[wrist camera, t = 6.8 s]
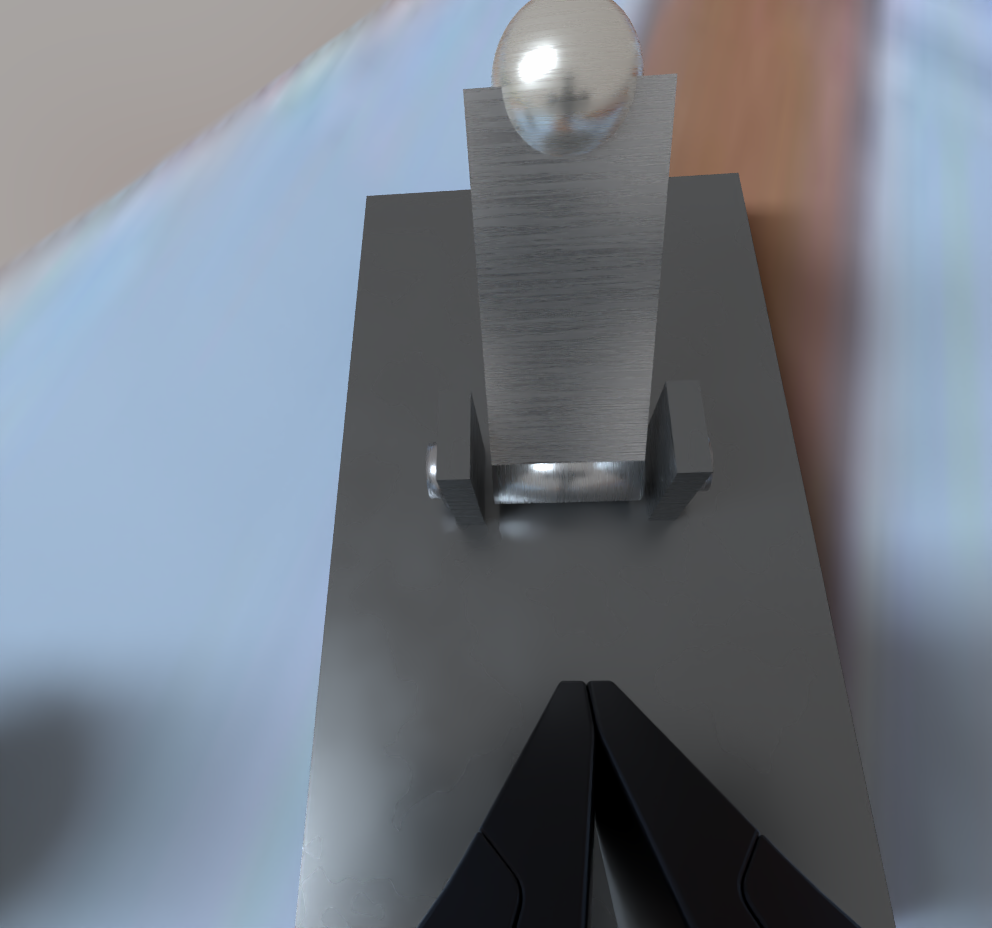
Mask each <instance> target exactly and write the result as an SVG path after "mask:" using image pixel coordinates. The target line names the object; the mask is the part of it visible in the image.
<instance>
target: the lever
mask: <svg viewBox="0 0 992 928" xmlns="http://www.w3.org/2000/svg"><path fill="white" fill-rule="evenodd" d="M676 82H677V74H665V75H652V76H644V65H643V56H642V50H641V46H640V42H639V39H638V36H637V33H636V31H635V29H634V27H633V25H632V23H631V21H630V19H629V18H628V16H627V15H626V14H625V12H624V11H623V10H622V9H621V8H620V7H619V6H618V5H617V4H616V3H615V2H614V1H613V0H531V1H529V2H528V3H527V4H526V5H524V6H523V7H522V8H521V9H520V10H519V11H518V12H517V13H516V15H515V16H514V17H513V18H512V20H511V21H510V23H509V24H508V26H507V27H506V29H505V31H504V33H503V35H502V37H501V39H500V41H499V44H498V47H497V50H496V53H495V57H494V61H493V67H492V76H491V87H489V88H475V89H463V93H464V106H465V120H466V133H467V146H468V159H469V172H470V186H471V199H472V212H473V225H474V238H475V252H476V265H477V278H478V291H479V304H480V318H481V331H482V344H483V357H484V370H485V384H486V397H487V410H488V423H489V436H490V450H491V463H492V484H493V496H494V502H495V504H522V503H559V502H597V501H634V500H641V499H642V496H643V492H644V485H645V453H646V441H647V429H648V417H649V405H650V393H651V381H652V369H653V357H654V346H655V334H656V322H657V310H658V298H659V286H660V274H661V262H662V250H663V238H664V226H665V214H666V202H667V190H668V178H669V166H670V154H671V142H672V130H673V118H674V106H675V94H676Z"/></svg>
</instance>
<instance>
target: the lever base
mask: <svg viewBox="0 0 992 928" xmlns="http://www.w3.org/2000/svg"><path fill="white" fill-rule="evenodd" d="M605 680H609V681H612V682H614V683H615V684H616V685H617V686H618V687H619V688H620V689H621V690H622V691H623V692H624V693H625V694H626V695H627V696H628V697H629V698H630V699H631V700H632V701H633V702H634V703H635V704H636V706H637V707H638V708H639V709H640V710H641V711H642V712H643V713H644V714H645V715H646V716H647V717H648V718H649V719H650V720H651V721H652V722H653V723H654V724H655V725H656V726H657V727H658V728H659V729H660V730H661V731H662V732H663V733H664V734H665V735H666V736H667V737H668V738H669V739H670V740H671V741H672V742H673V743H674V744H675V745H676V746H677V747H678V748H679V749H680V750H681V751H682V752H683V753H684V755H685V756H686V757H687V758H688V759H689V760H690V761H691V762H692V763H693V764H694V765H695V766H696V767H697V768H698V769H699V770H700V771H701V772H702V773H703V774H704V775H705V776H706V777H707V778H708V779H709V780H710V781H711V782H712V783H713V784H714V785H715V786H716V787H717V788H718V789H719V790H720V791H721V792H722V793H723V794H724V795H725V796H726V797H727V798H728V799H729V800H730V801H731V802H732V804H733V805H734V806H735V807H736V808H737V809H738V810H739V811H740V812H741V813H742V814H743V815H744V816H745V817H746V818H747V819H748V820H749V821H750V822H751V823H752V824H753V825H754V826H755V827H756V828H757V829H758V830H759V832H760V835H765V836H766V837H767V838H768V839H769V840H770V841H771V842H772V843H773V844H774V845H775V846H776V847H777V848H778V849H779V850H780V851H781V852H782V853H783V854H784V855H785V856H786V857H787V858H788V859H789V860H790V861H791V862H792V863H793V864H794V865H795V866H796V867H797V868H798V869H799V870H800V871H801V872H802V873H803V874H804V875H805V876H806V877H807V878H808V879H809V880H810V881H811V882H812V883H813V884H814V885H816V886H817V887H818V888H819V889H820V890H821V891H822V892H823V893H824V894H825V895H826V896H827V897H828V898H829V899H831V900H832V901H833V902H834V903H835V904H836V905H837V906H838V907H839V908H841V909H842V910H843V911H844V912H845V913H846V914H847V915H848V916H850V917H851V918H852V919H853V920H854V921H855V922H856V923H857V924H858V925H860V926H861V927H862V928H896V927H895V922H894V917H893V912H892V908H891V903H890V898H889V893H888V888H887V884H886V879H885V874H884V869H883V864H882V860H881V855H880V850H879V845H878V840H877V836H876V831H875V826H874V821H873V816H872V812H871V807H870V802H869V797H868V793H867V788H866V783H865V778H864V773H863V769H862V764H861V759H860V754H859V749H858V745H857V740H856V735H855V730H854V725H853V721H852V716H851V711H850V706H849V701H848V697H847V692H846V687H845V682H844V677H843V673H842V668H841V663H840V658H839V653H838V649H837V644H836V639H835V634H834V629H833V625H832V620H831V615H830V610H829V605H828V601H827V596H826V591H825V586H824V581H823V577H822V572H821V567H820V562H819V557H818V553H817V548H816V543H815V538H814V533H813V529H812V524H811V519H810V514H809V510H808V505H807V500H806V495H805V490H804V486H803V481H802V476H801V471H800V466H799V462H798V457H797V452H796V447H795V442H794V438H793V433H792V428H791V423H790V418H789V414H788V409H787V404H786V399H785V394H784V390H783V385H782V380H781V375H780V370H779V366H778V361H777V356H776V351H775V346H774V342H773V337H772V332H771V327H770V322H769V318H768V313H767V308H766V303H765V298H764V294H763V289H762V284H761V279H760V274H759V270H758V265H757V260H756V255H755V251H754V246H753V241H752V236H751V231H750V227H749V222H748V217H747V212H746V207H745V203H744V198H743V193H742V188H741V183H740V179H739V174H738V173H730V174H714V175H698V176H682V177H669V178H668V190H667V202H666V214H665V226H664V238H663V250H662V262H661V274H660V286H659V298H658V310H657V322H656V334H655V346H654V357H653V369H652V381H651V393H650V405H649V417H648V429H647V441H646V453H645V485H644V492H643V496H642V499H641V500H634V501H597V502H559V503H522V504H495V502H494V496H493V484H492V463H491V450H490V436H489V423H488V410H487V397H486V384H485V370H484V357H483V344H482V331H481V318H480V304H479V291H478V278H477V265H476V252H475V238H474V225H473V212H472V199H471V190H457V191H440V192H424V193H408V194H392V195H376V196H367V199H366V209H365V220H364V230H363V240H362V250H361V260H360V270H359V280H358V291H357V301H356V311H355V321H354V331H353V341H352V351H351V362H350V372H349V382H348V392H347V402H346V412H345V423H344V433H343V443H342V453H341V463H340V473H339V483H338V494H337V504H336V514H335V524H334V534H333V544H332V554H331V565H330V575H329V585H328V595H327V605H326V615H325V625H324V636H323V646H322V656H321V666H320V676H319V686H318V697H317V707H316V717H315V727H314V737H313V747H312V757H311V768H310V778H309V788H308V798H307V808H306V818H305V828H304V839H303V849H302V859H301V869H300V879H299V889H298V899H297V910H296V920H295V928H417V926H418V925H419V923H420V922H421V920H422V919H423V918H424V916H425V915H426V913H427V912H428V910H429V909H430V907H431V906H432V905H433V903H434V902H435V900H436V899H437V897H438V896H439V894H440V893H441V891H442V890H443V889H444V887H445V885H446V884H447V882H448V880H449V879H450V877H451V875H452V874H453V872H454V870H455V869H456V867H457V865H458V864H459V862H460V860H461V859H462V857H463V855H464V853H465V852H466V850H467V848H468V846H469V844H470V842H471V841H472V839H473V837H474V835H475V834H476V833H477V832H479V828H480V826H481V824H482V822H483V820H484V818H485V817H486V815H487V813H488V811H489V809H490V808H491V806H492V804H493V802H494V800H495V798H496V797H497V795H498V793H499V791H500V789H501V788H502V786H503V784H504V782H505V780H506V778H507V777H508V775H509V773H510V771H511V769H512V768H513V766H514V764H515V762H516V760H517V758H518V757H519V755H520V753H521V751H522V749H523V747H524V746H525V744H526V742H527V740H528V738H529V737H530V735H531V733H532V731H533V729H534V727H535V726H536V724H537V722H538V720H539V718H540V717H541V715H542V713H543V711H544V709H545V707H546V706H547V704H548V702H549V700H550V698H551V697H552V695H553V693H554V691H555V689H556V687H557V686H558V684H559V683H560V682H561V681H583V682H585V684H586V685H587V683H588V682H589V681H605ZM592 928H618V925H617V921H616V916H615V912H614V907H613V903H612V898H611V894H610V889H609V885H608V880H607V876H606V871H605V867H604V862H603V858H602V853H601V849H600V845H599V840H598V835H597V829H596V824H595V834H594V870H593V903H592Z"/></svg>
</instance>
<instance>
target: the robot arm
mask: <svg viewBox="0 0 992 928" xmlns="http://www.w3.org/2000/svg"><path fill="white" fill-rule="evenodd" d="M595 824H596V829H597V835H598V840H599V845H600V849H601V853H602V858H603V862H604V867H605V871H606V876H607V880H608V885H609V889H610V894H611V898H612V903H613V907H614V912H615V916H616V921H617V925H618V928H862V927H861V926H860V925H858V924H857V923H856V922H855V921H854V920H853V919H852V918H851V917H850V916H848V915H847V914H846V913H845V912H844V911H843V910H842V909H841V908H839V907H838V906H837V905H836V904H835V903H834V902H833V901H832V900H831V899H829V898H828V897H827V896H826V895H825V894H824V893H823V892H822V891H821V890H820V889H819V888H818V887H817V886H816V885H814V884H813V883H812V882H811V881H810V880H809V879H808V878H807V877H806V876H805V875H804V874H803V873H802V872H801V871H800V870H799V869H798V868H797V867H796V866H795V865H794V864H793V863H792V862H791V861H790V860H789V859H788V858H787V857H786V856H785V855H784V854H783V853H782V852H781V851H780V850H779V849H778V848H777V847H776V846H775V845H774V844H773V843H772V842H771V841H770V840H769V839H768V838H767V837H766V836H765V835H760V832H759V830H758V829H757V828H756V827H755V826H754V825H753V824H752V823H751V822H750V821H749V820H748V819H747V818H746V817H745V816H744V815H743V814H742V813H741V812H740V811H739V810H738V809H737V808H736V807H735V806H734V805H733V804H732V802H731V801H730V800H729V799H728V798H727V797H726V796H725V795H724V794H723V793H722V792H721V791H720V790H719V789H718V788H717V787H716V786H715V785H714V784H713V783H712V782H711V781H710V780H709V779H708V778H707V777H706V776H705V775H704V774H703V773H702V772H701V771H700V770H699V769H698V768H697V767H696V766H695V765H694V764H693V763H692V762H691V761H690V760H689V759H688V758H687V757H686V756H685V755H684V753H683V752H682V751H681V750H680V749H679V748H678V747H677V746H676V745H675V744H674V743H673V742H672V741H671V740H670V739H669V738H668V737H667V736H666V735H665V734H664V733H663V732H662V731H661V730H660V729H659V728H658V727H657V726H656V725H655V724H654V723H653V722H652V721H651V720H650V719H649V718H648V717H647V716H646V715H645V714H644V713H643V712H642V711H641V710H640V709H639V708H638V707H637V706H636V704H635V703H634V702H633V701H632V700H631V699H630V698H629V697H628V696H627V695H626V694H625V693H624V692H623V691H622V690H621V689H620V688H619V687H618V686H617V685H616V684H615V683H614V682H612V681H609V680H605V681H589V682H588V683H587V685H586V684H585V682H583V681H561V682H560V683H559V684H558V686H557V687H556V689H555V691H554V693H553V695H552V697H551V698H550V700H549V702H548V704H547V706H546V707H545V709H544V711H543V713H542V715H541V717H540V718H539V720H538V722H537V724H536V726H535V727H534V729H533V731H532V733H531V735H530V737H529V738H528V740H527V742H526V744H525V746H524V747H523V749H522V751H521V753H520V755H519V757H518V758H517V760H516V762H515V764H514V766H513V768H512V769H511V771H510V773H509V775H508V777H507V778H506V780H505V782H504V784H503V786H502V788H501V789H500V791H499V793H498V795H497V797H496V798H495V800H494V802H493V804H492V806H491V808H490V809H489V811H488V813H487V815H486V817H485V818H484V820H483V822H482V824H481V826H480V828H479V832H477V833H476V834H475V835H474V837H473V839H472V841H471V842H470V844H469V846H468V848H467V850H466V852H465V853H464V855H463V857H462V859H461V860H460V862H459V864H458V865H457V867H456V869H455V870H454V872H453V874H452V875H451V877H450V879H449V880H448V882H447V884H446V885H445V887H444V889H443V890H442V891H441V893H440V894H439V896H438V897H437V899H436V900H435V902H434V903H433V905H432V906H431V907H430V909H429V910H428V912H427V913H426V915H425V916H424V918H423V919H422V920H421V922H420V923H419V925H418V926H417V928H592V903H593V870H594V834H595Z"/></svg>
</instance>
